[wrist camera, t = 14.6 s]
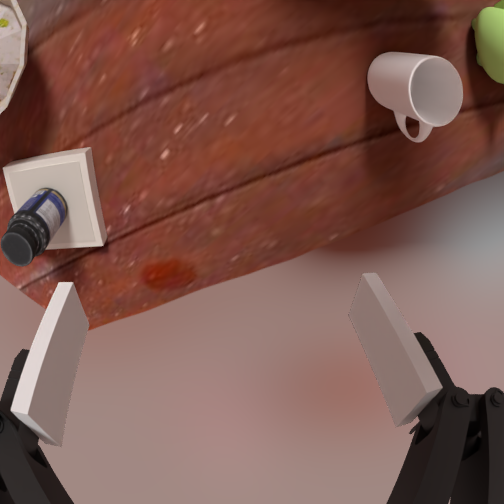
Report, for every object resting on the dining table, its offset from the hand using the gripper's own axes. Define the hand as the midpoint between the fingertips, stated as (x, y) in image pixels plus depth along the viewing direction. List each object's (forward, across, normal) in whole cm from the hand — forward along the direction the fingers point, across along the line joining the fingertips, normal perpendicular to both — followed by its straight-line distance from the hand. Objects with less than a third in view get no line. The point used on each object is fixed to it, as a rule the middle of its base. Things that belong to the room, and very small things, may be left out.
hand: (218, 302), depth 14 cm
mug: (+31, +25, +8) cm, 40 cm away
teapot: (+31, +44, +22) cm, 59 cm away
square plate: (+30, -23, -8) cm, 39 cm away
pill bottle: (+28, -23, -8) cm, 37 cm away
